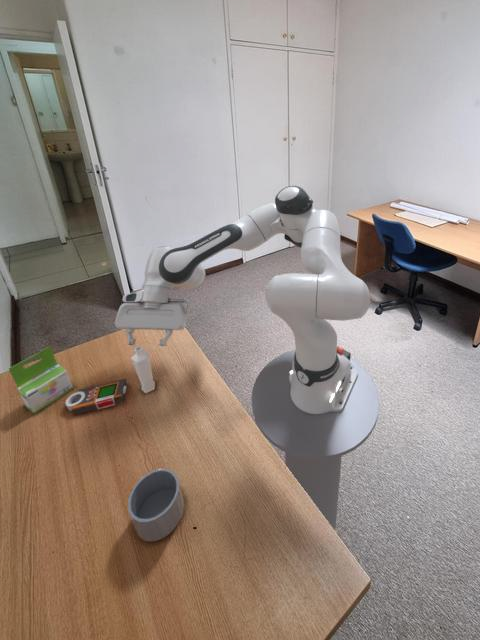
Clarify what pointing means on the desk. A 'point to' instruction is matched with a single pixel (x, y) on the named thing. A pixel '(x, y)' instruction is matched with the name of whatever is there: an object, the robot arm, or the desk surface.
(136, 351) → the perfume bottle
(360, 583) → the desk surface
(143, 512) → the short grey cup
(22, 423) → the desk surface
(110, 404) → the electronic device
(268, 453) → the desk surface
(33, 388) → the ink box
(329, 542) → the desk surface
